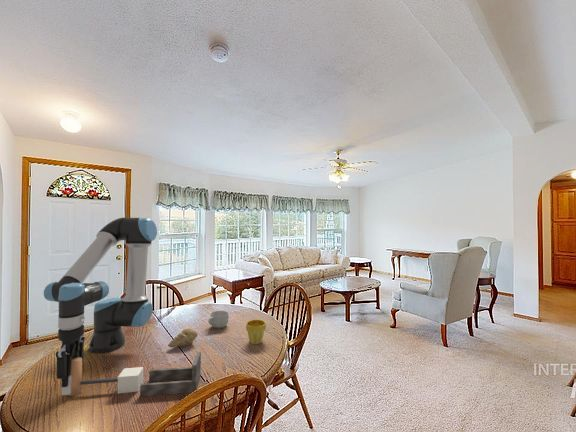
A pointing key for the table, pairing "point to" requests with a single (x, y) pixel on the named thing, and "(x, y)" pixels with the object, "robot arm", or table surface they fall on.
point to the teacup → (219, 319)
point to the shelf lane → (173, 374)
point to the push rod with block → (126, 380)
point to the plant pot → (255, 330)
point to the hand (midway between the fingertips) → (70, 390)
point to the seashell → (184, 338)
